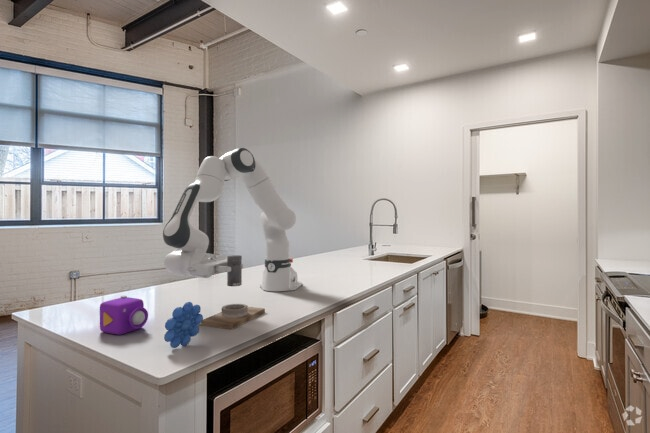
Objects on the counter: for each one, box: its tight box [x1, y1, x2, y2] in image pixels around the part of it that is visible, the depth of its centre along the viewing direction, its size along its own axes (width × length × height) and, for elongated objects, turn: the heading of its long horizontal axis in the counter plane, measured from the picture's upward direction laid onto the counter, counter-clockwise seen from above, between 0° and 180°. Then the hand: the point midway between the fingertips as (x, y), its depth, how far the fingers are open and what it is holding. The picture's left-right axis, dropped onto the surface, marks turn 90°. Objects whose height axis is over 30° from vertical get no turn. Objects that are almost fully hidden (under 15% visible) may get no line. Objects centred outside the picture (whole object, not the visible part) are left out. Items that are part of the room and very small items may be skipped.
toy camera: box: [99, 295, 149, 336], centre depth 113 cm, size 11×14×10 cm
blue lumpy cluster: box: [163, 301, 204, 349], centre depth 101 cm, size 12×7×12 cm, turn 144°
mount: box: [200, 303, 266, 330], centre depth 126 cm, size 20×12×4 cm, turn 159°
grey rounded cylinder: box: [226, 254, 243, 287], centre depth 126 cm, size 5×5×10 cm
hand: (236, 267), depth 125 cm, fingers closed on grey rounded cylinder, 5 cm apart
